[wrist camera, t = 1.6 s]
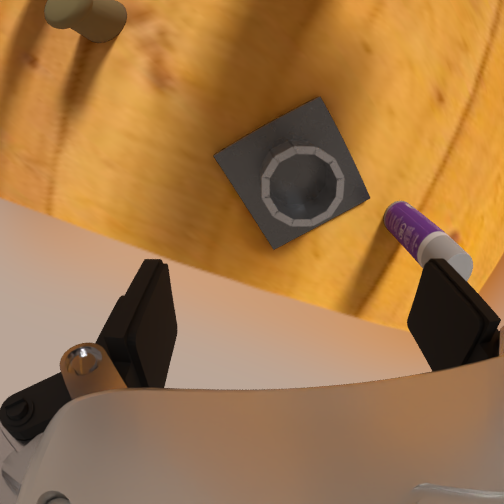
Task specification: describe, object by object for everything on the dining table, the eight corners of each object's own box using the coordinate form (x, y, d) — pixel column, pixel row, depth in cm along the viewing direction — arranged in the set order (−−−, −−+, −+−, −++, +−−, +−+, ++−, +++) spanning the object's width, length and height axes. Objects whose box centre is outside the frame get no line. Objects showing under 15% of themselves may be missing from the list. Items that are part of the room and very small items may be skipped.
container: (381, 206, 39) (437, 260, 26) (410, 196, 38) (474, 245, 25) (386, 236, 41) (437, 299, 28) (414, 227, 40) (472, 283, 27)
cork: (127, 36, 28) (85, 18, 19) (84, 48, 28) (34, 39, 19) (126, -5, 26) (88, -33, 16) (84, 8, 26) (37, -11, 16)
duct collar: (318, 96, 33) (331, 96, 27) (367, 195, 38) (385, 212, 33) (214, 154, 36) (208, 164, 30) (273, 246, 41) (277, 269, 36)
